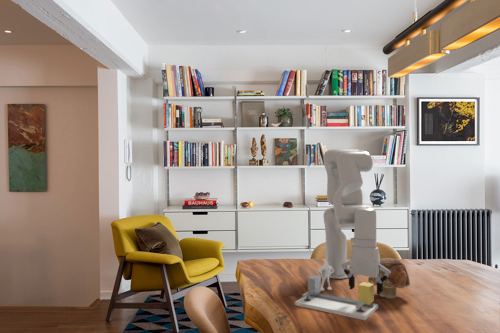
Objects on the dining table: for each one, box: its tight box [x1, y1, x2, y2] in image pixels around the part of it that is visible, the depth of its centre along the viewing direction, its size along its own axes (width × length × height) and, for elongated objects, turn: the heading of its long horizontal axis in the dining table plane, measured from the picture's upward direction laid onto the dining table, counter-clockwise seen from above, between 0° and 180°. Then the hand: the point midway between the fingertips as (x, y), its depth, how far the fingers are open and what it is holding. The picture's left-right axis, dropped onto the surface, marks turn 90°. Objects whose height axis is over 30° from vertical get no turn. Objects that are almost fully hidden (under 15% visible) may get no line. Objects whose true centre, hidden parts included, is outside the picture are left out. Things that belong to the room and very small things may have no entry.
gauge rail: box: [301, 274, 375, 308], centre depth 140 cm, size 12×25×7 cm, turn 55°
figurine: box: [317, 260, 334, 292], centre depth 160 cm, size 7×4×12 cm, turn 108°
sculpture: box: [367, 257, 411, 299], centre depth 150 cm, size 15×16×15 cm
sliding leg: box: [356, 281, 375, 311], centre depth 134 cm, size 12×4×7 cm, turn 145°
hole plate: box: [294, 296, 379, 321], centre depth 140 cm, size 14×26×1 cm, turn 55°
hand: (365, 290), depth 137 cm, fingers open, 9 cm apart
